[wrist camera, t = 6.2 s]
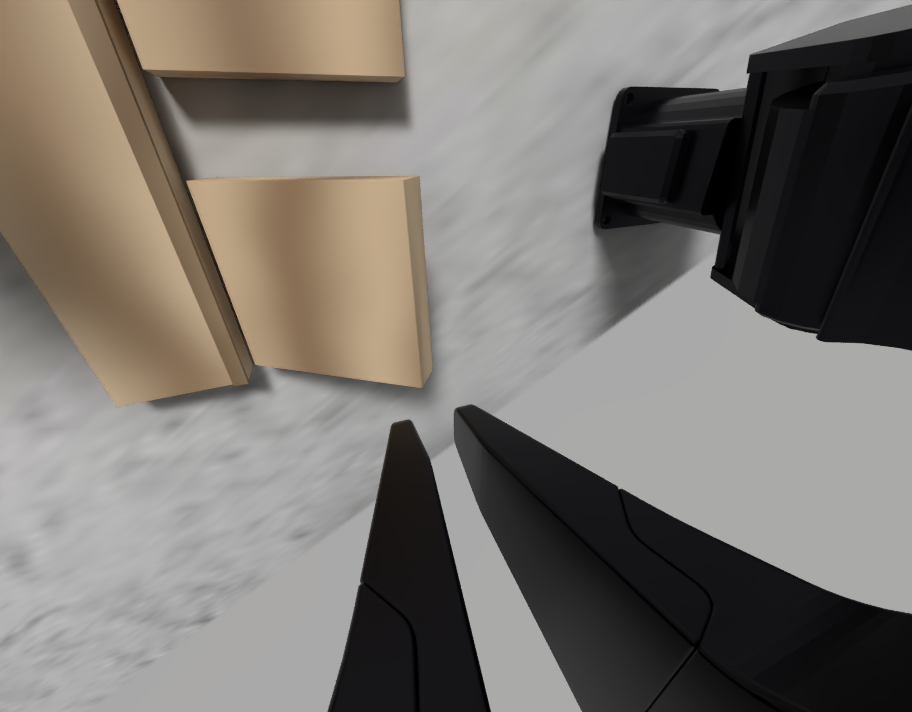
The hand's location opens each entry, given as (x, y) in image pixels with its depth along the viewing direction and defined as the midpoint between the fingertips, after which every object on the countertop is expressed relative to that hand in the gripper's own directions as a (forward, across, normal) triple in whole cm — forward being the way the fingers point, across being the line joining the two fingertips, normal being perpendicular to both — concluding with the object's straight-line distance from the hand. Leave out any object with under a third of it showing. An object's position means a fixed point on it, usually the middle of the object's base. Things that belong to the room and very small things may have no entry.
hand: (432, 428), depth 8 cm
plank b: (+9, +1, -1) cm, 9 cm away
